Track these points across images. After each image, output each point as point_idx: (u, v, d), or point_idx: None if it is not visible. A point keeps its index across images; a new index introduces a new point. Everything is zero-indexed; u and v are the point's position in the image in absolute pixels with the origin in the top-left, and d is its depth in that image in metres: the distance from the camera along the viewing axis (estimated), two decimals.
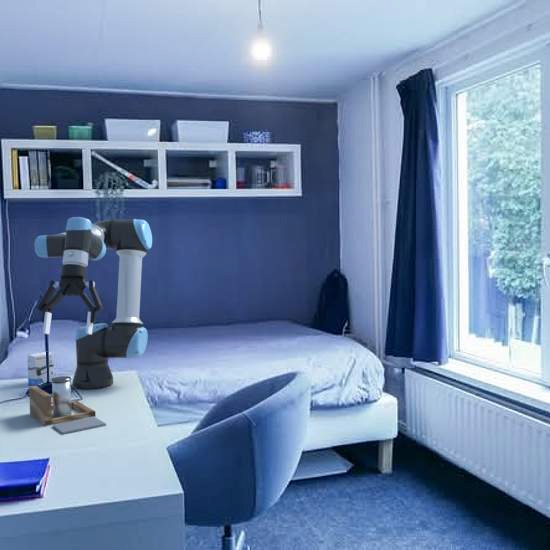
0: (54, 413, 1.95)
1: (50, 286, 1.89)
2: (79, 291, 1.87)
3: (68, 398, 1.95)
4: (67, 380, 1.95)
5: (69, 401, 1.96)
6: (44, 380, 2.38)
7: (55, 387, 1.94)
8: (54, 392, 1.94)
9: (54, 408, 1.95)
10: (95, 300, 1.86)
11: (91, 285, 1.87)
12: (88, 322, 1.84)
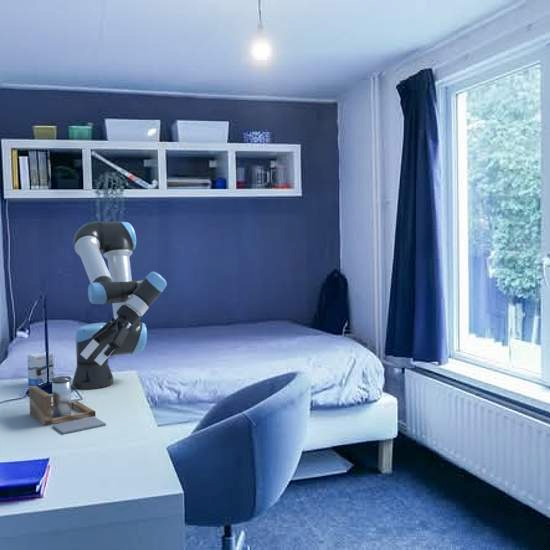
0: (54, 413, 1.95)
1: (109, 321, 2.12)
2: (115, 327, 2.03)
3: (68, 398, 1.95)
4: (67, 380, 1.95)
5: (69, 401, 1.96)
6: (44, 380, 2.38)
7: (55, 387, 1.94)
8: (54, 392, 1.94)
9: (54, 408, 1.95)
10: (117, 336, 1.98)
11: (124, 325, 2.02)
12: (101, 352, 1.97)
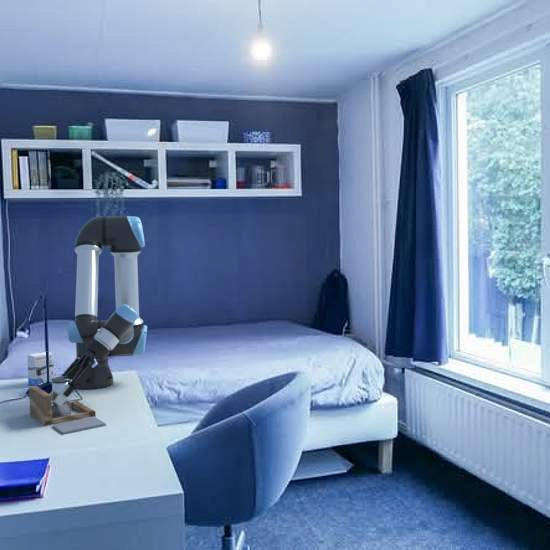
0: (54, 413, 1.95)
1: (76, 358, 2.05)
2: (82, 364, 1.98)
3: (68, 398, 1.95)
4: (67, 380, 1.95)
5: (69, 401, 1.96)
6: (44, 380, 2.38)
7: (55, 387, 1.94)
8: (54, 392, 1.94)
9: (54, 408, 1.95)
10: (79, 376, 1.94)
11: (90, 364, 1.96)
12: (60, 393, 1.93)
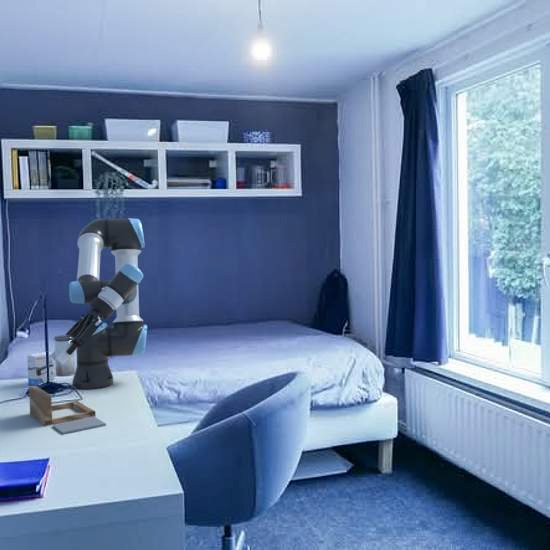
0: (57, 372, 1.90)
1: None
2: (85, 322, 1.93)
3: (71, 357, 1.90)
4: (70, 338, 1.90)
5: (72, 360, 1.91)
6: (44, 380, 2.38)
7: (58, 344, 1.89)
8: (57, 350, 1.89)
9: (57, 367, 1.90)
10: (82, 334, 1.89)
11: (93, 321, 1.91)
12: (63, 350, 1.88)
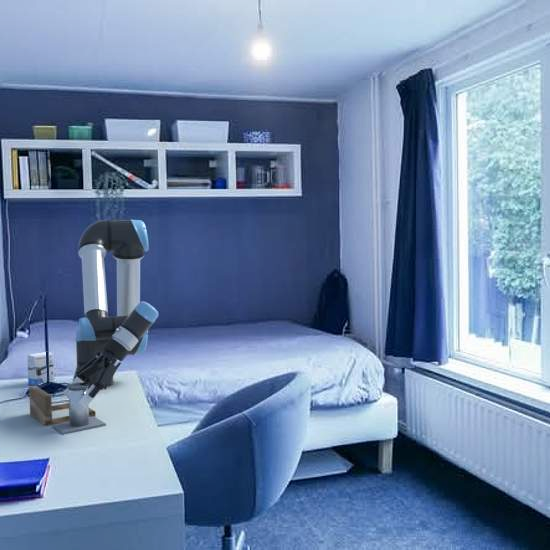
0: (70, 422, 1.83)
1: (94, 356, 1.94)
2: (102, 364, 1.85)
3: None
4: (84, 387, 1.83)
5: (86, 409, 1.84)
6: (44, 380, 2.38)
7: (72, 394, 1.82)
8: (71, 400, 1.82)
9: (70, 417, 1.83)
10: (103, 376, 1.80)
11: (112, 362, 1.84)
12: (86, 393, 1.79)
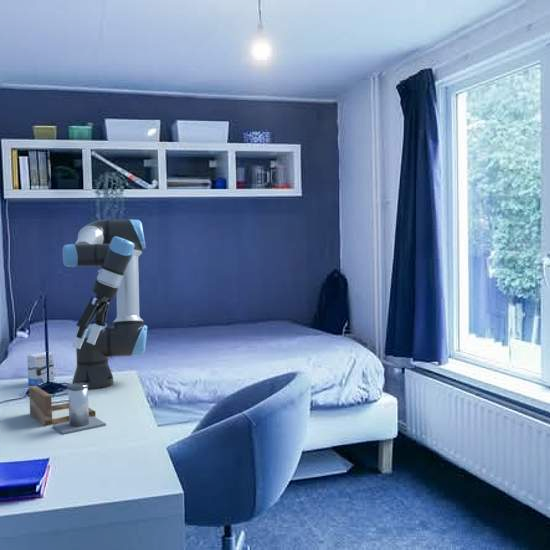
0: (70, 422, 1.83)
1: None
2: None
3: (85, 406, 1.84)
4: (84, 387, 1.83)
5: (86, 409, 1.84)
6: (44, 380, 2.38)
7: (72, 394, 1.82)
8: (70, 400, 1.82)
9: (70, 417, 1.83)
10: None
11: None
12: (75, 336, 1.91)
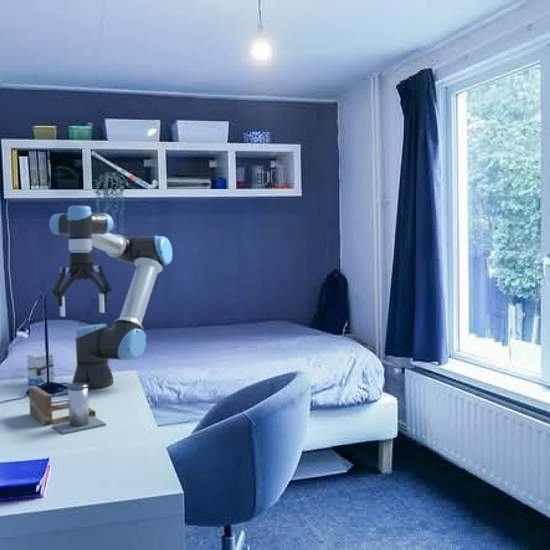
0: (70, 422, 1.83)
1: None
2: None
3: (85, 406, 1.84)
4: (84, 387, 1.83)
5: (86, 409, 1.84)
6: (44, 380, 2.38)
7: (72, 394, 1.82)
8: (71, 400, 1.82)
9: (70, 417, 1.83)
10: None
11: None
12: None
